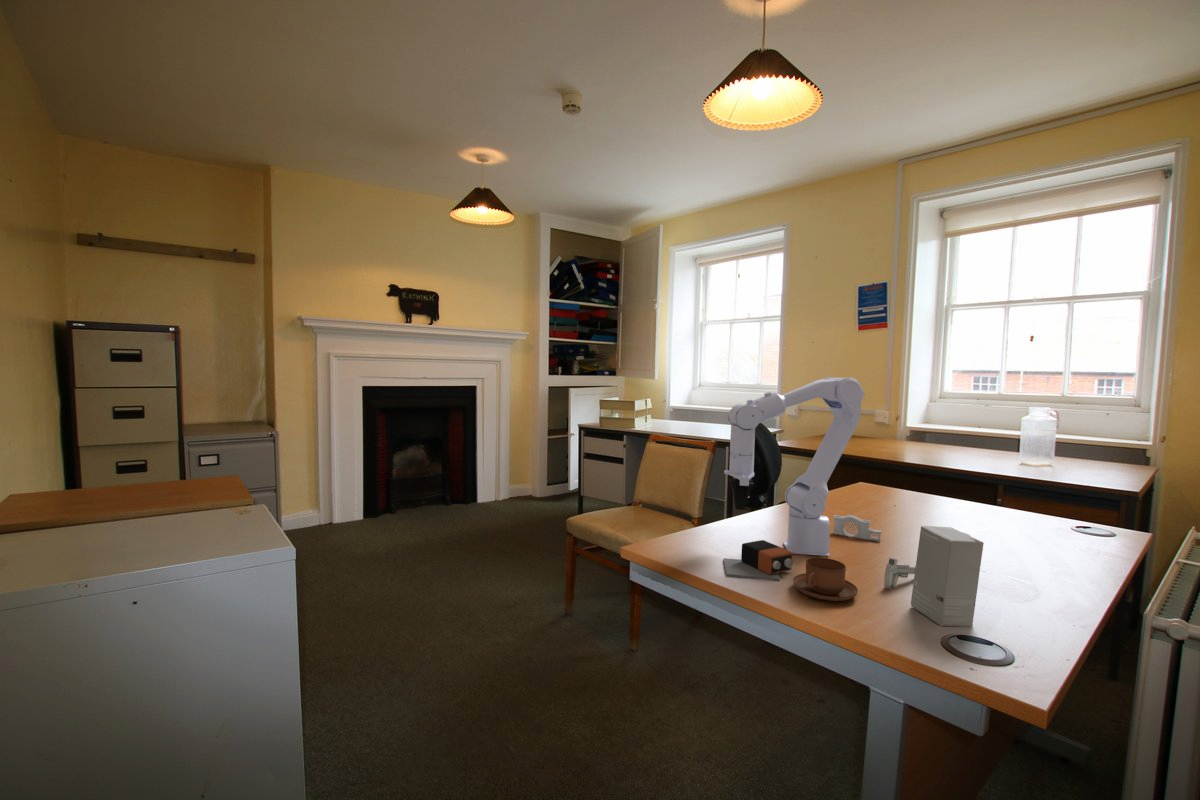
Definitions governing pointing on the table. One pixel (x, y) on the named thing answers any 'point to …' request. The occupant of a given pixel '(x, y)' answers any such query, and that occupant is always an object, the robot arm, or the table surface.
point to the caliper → (896, 572)
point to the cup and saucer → (825, 580)
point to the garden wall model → (862, 526)
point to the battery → (766, 557)
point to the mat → (746, 570)
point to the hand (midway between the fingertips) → (739, 509)
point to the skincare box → (947, 575)
